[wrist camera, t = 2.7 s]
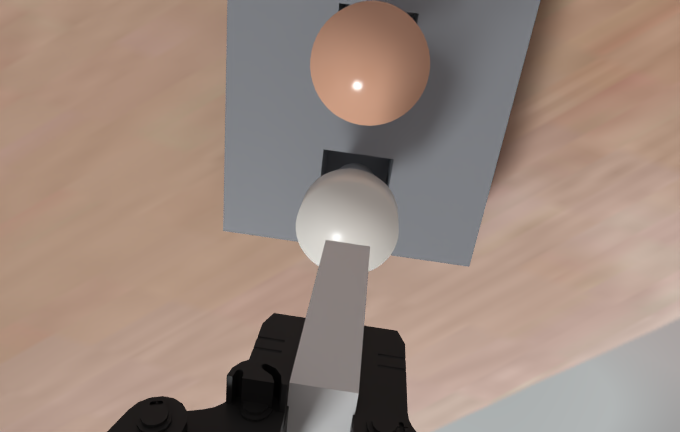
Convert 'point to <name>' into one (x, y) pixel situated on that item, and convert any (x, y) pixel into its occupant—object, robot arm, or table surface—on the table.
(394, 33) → the terracotta plunger
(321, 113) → the console
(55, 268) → the table surface
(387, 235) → the plunger
